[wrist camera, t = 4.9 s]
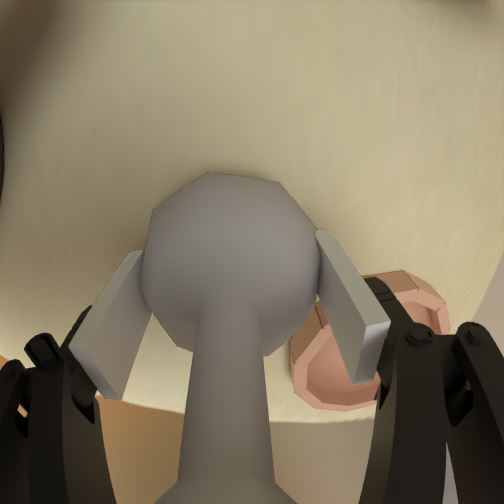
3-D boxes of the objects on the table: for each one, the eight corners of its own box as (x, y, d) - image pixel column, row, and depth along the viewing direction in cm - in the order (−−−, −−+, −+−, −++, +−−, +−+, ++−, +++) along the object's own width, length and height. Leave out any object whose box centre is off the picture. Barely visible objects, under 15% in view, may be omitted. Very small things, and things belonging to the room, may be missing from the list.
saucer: (290, 400, 25) (293, 420, 23) (287, 286, 19) (293, 308, 16) (413, 373, 25) (422, 389, 22) (451, 261, 18) (468, 277, 16)
